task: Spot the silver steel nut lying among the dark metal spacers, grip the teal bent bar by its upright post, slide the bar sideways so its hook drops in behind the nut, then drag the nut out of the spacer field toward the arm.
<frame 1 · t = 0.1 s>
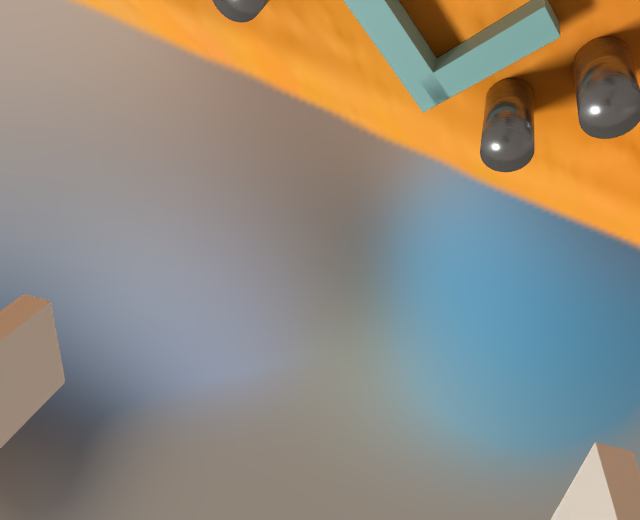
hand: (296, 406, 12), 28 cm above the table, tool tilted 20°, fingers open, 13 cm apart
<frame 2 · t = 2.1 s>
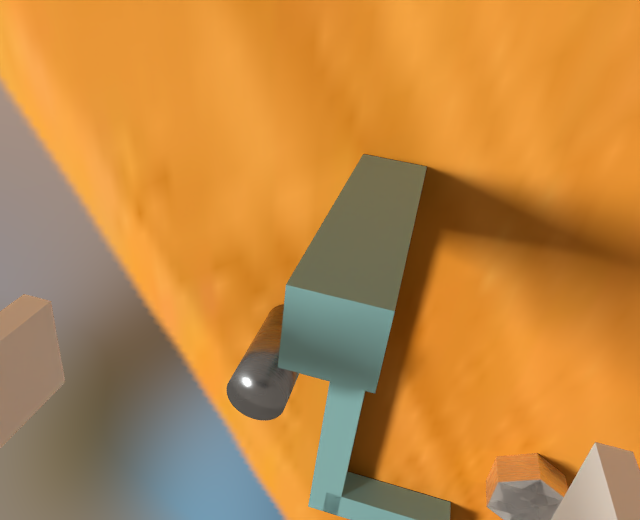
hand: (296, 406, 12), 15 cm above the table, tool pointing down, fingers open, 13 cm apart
teal bent bar: (388, 189, 25), on the table
spacer field: (466, 485, 33), on the table
steel nut: (524, 476, 31), on the table
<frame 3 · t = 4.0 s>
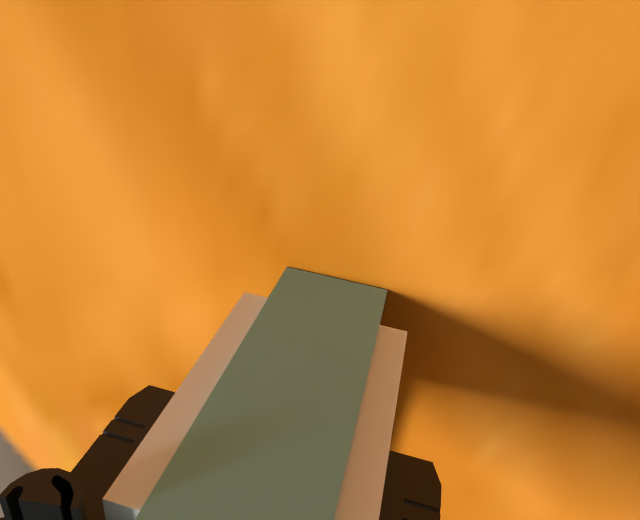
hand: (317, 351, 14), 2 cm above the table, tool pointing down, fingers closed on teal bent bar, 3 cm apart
teal bent bar: (329, 319, 16), on the table, touching gripper
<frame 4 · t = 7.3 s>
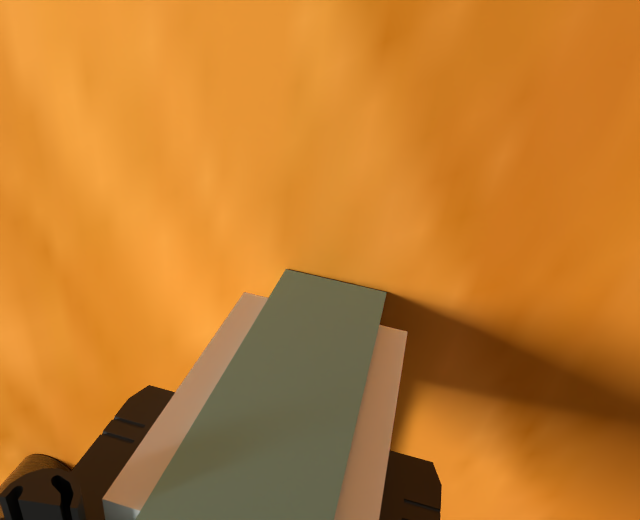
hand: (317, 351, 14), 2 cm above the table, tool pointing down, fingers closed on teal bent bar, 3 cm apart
teal bent bar: (329, 322, 16), on the table, touching gripper, steel nut
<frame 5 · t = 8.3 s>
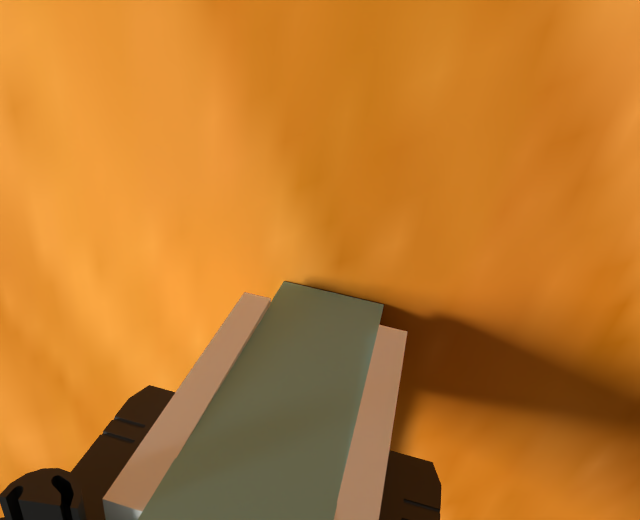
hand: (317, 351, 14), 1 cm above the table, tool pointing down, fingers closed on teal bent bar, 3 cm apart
teal bent bar: (326, 334, 16), on the table, touching gripper, steel nut
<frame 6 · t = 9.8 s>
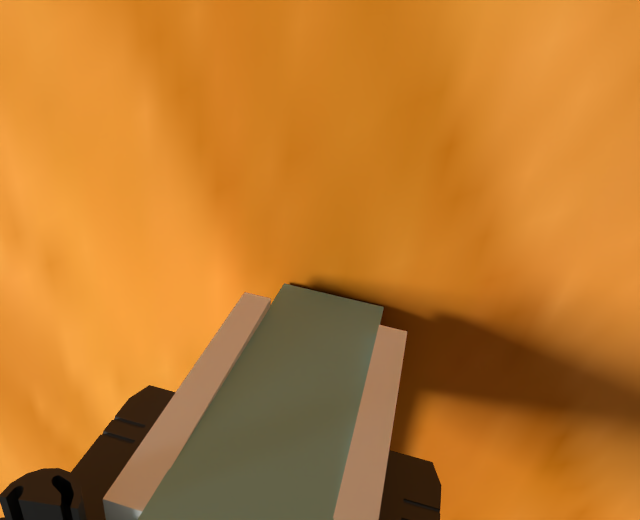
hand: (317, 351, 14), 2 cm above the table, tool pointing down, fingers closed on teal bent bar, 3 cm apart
teal bent bar: (326, 336, 16), on the table, touching gripper
when the fingers open (2 cm above the table, at t = 10.6 s): teal bent bar stays where it is, on the table.
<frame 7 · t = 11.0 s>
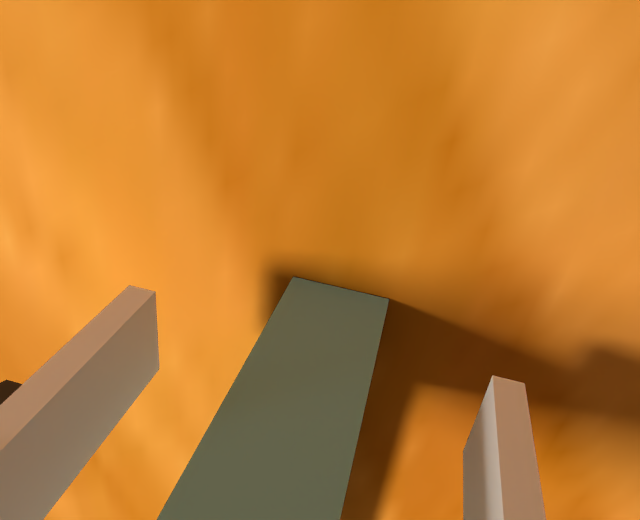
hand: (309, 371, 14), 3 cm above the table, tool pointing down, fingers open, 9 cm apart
teal bent bar: (333, 326, 16), on the table
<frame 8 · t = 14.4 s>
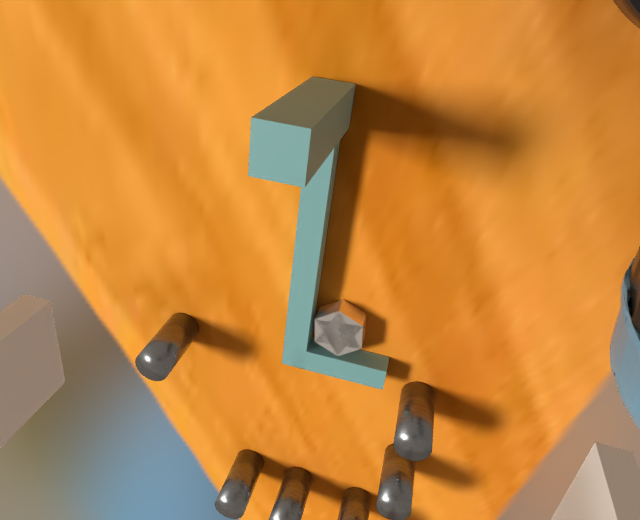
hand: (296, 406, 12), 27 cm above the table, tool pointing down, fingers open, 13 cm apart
teal bent bar: (331, 102, 36), on the table
spacer field: (301, 427, 51), on the table
steel nut: (342, 320, 44), on the table
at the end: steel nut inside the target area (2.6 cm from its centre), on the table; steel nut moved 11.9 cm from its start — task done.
